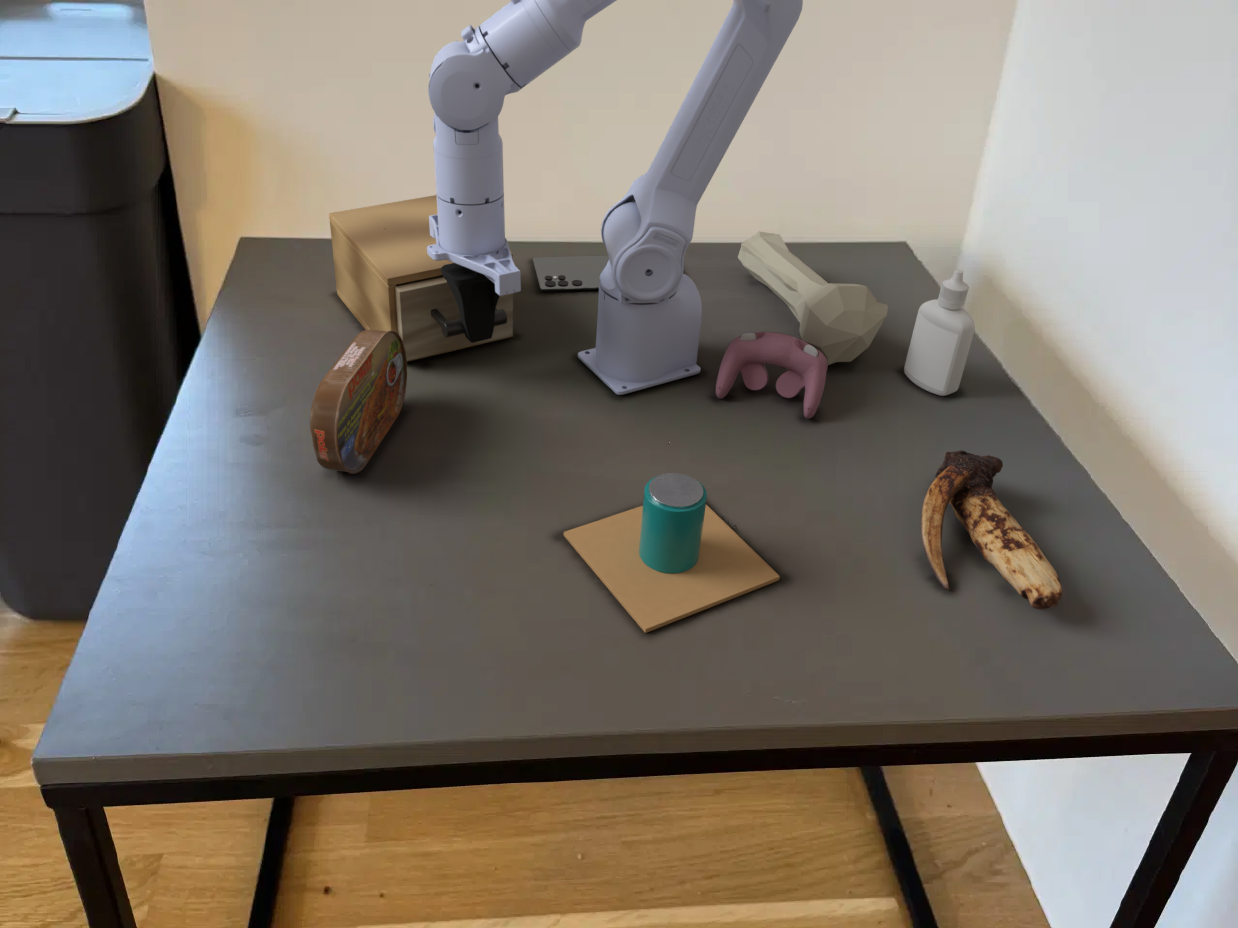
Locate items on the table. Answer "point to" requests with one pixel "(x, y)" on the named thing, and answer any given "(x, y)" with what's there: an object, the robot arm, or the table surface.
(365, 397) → the tin
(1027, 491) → the table surface
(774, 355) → the video game controller
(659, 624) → the mat
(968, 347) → the eye dropper bottle
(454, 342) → the drawer
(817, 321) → the faceted club
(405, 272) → the cabinet
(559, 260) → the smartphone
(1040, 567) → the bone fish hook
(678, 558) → the can
